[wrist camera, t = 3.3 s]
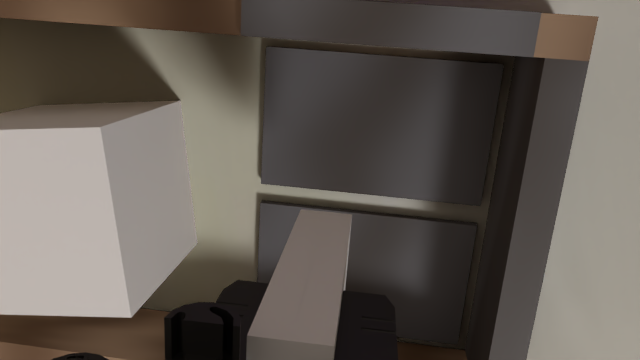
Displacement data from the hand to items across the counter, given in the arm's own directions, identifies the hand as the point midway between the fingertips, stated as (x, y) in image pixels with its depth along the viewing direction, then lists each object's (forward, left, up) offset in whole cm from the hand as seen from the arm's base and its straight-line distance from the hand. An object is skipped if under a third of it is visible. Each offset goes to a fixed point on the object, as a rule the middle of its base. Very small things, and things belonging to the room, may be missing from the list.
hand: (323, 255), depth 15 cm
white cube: (+9, 0, -6) cm, 11 cm away
